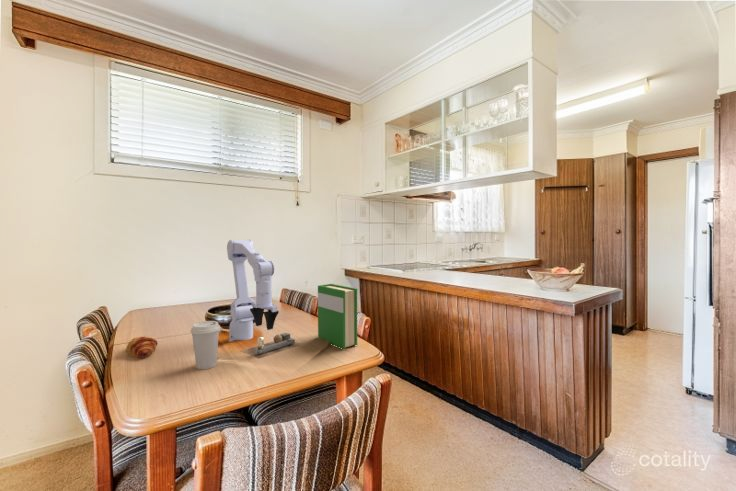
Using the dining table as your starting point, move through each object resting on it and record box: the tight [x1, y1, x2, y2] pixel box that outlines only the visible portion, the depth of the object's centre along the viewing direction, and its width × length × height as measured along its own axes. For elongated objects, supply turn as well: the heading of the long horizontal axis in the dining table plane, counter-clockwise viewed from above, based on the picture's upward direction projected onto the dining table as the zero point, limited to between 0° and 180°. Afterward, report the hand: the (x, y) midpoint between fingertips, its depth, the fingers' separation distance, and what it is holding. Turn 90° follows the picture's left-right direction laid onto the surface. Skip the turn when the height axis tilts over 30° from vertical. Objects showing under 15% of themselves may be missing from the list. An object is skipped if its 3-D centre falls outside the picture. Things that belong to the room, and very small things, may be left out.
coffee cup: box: [189, 320, 221, 370], centre depth 116 cm, size 10×10×15 cm
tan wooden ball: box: [273, 334, 283, 343], centre depth 136 cm, size 4×4×4 cm
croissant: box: [125, 335, 158, 359], centre depth 130 cm, size 21×10×8 cm, turn 43°
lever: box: [256, 336, 296, 354], centre depth 129 cm, size 16×2×6 cm, turn 139°
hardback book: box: [317, 283, 358, 350], centre depth 140 cm, size 18×7×24 cm, turn 43°
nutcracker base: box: [241, 332, 301, 359], centre depth 131 cm, size 20×12×4 cm, turn 141°
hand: (264, 327), depth 128 cm, fingers open, 7 cm apart
